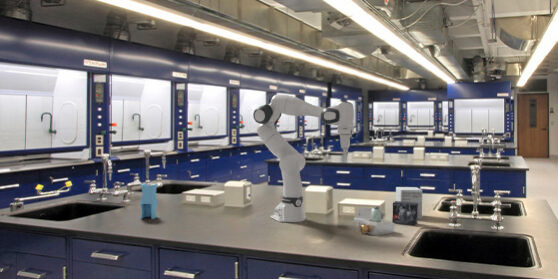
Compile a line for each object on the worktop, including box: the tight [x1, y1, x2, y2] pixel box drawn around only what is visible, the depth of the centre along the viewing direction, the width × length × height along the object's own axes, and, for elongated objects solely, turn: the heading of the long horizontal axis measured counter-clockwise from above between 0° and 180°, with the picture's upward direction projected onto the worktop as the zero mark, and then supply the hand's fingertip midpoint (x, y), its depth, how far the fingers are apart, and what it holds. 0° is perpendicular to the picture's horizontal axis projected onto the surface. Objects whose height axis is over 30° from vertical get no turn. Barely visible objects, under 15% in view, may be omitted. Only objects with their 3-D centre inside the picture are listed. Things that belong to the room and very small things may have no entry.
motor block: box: [358, 219, 395, 237], centre depth 239 cm, size 12×17×6 cm
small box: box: [391, 200, 418, 226], centre depth 261 cm, size 13×7×12 cm, turn 62°
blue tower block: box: [139, 183, 159, 220], centre depth 272 cm, size 8×8×20 cm
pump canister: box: [371, 205, 382, 222], centre depth 240 cm, size 5×5×8 cm
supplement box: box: [395, 186, 423, 220], centre depth 280 cm, size 13×13×18 cm
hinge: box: [352, 206, 384, 224], centre depth 261 cm, size 17×5×10 cm, turn 50°
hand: (345, 156), depth 249 cm, fingers open, 8 cm apart
